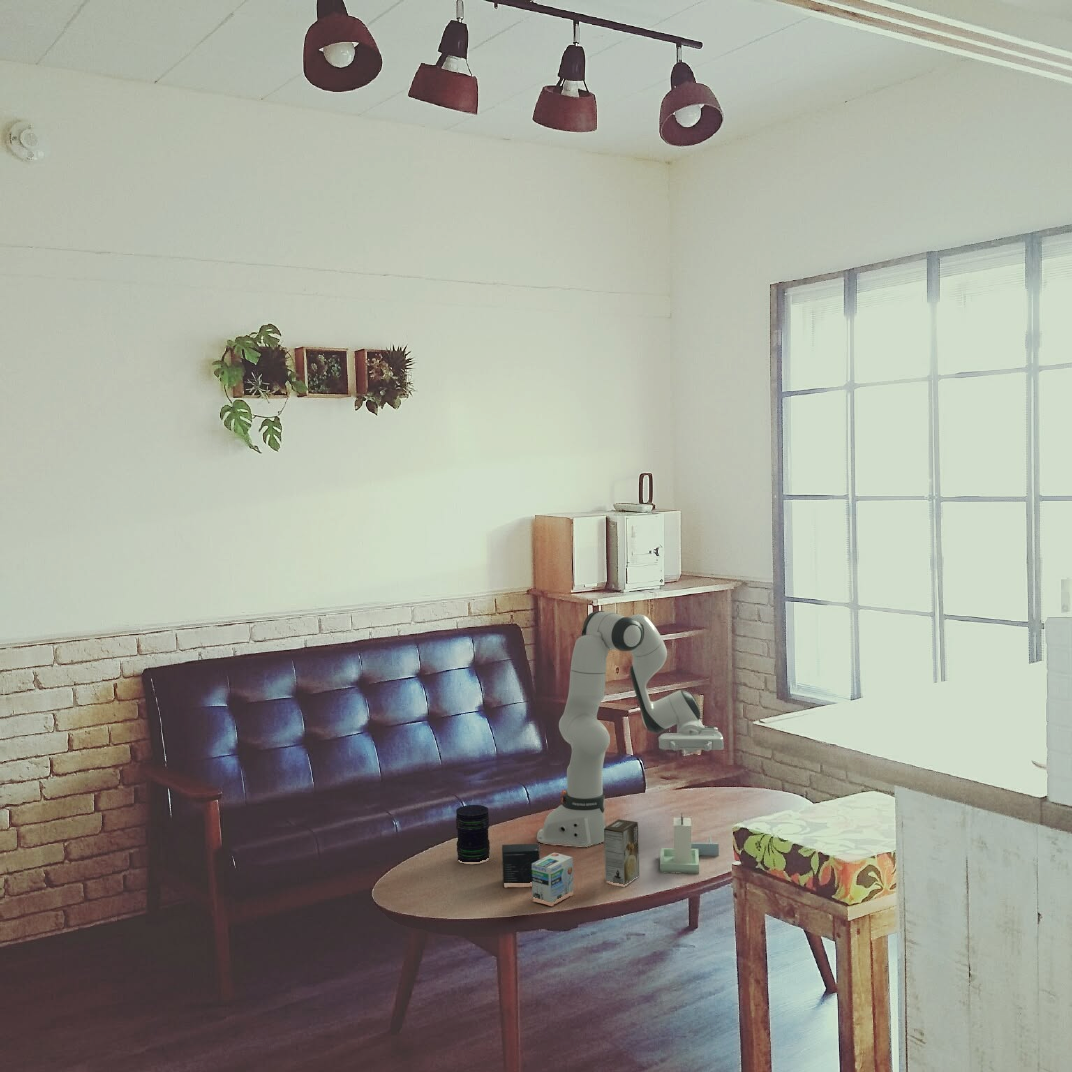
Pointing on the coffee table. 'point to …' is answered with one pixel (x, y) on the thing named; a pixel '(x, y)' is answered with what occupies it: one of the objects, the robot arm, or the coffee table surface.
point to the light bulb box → (552, 877)
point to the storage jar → (472, 833)
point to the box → (519, 862)
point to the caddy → (682, 840)
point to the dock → (706, 848)
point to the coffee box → (621, 851)
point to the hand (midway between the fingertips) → (691, 748)
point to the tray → (670, 866)
